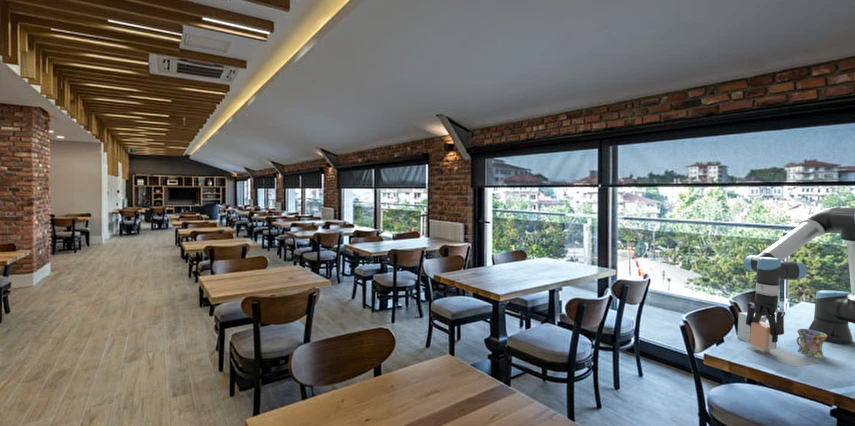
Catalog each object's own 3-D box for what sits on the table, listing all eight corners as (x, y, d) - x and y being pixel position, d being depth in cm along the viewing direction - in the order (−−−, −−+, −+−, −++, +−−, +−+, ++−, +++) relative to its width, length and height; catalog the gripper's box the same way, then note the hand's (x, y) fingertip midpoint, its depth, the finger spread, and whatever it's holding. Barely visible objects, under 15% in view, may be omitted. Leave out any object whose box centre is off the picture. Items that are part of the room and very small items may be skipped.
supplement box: (764, 343, 183) (766, 317, 182) (748, 343, 183) (750, 317, 182) (752, 337, 190) (753, 312, 189) (736, 337, 190) (738, 311, 189)
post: (761, 349, 173) (762, 331, 172) (769, 352, 169) (771, 334, 169) (755, 349, 172) (756, 332, 171) (763, 353, 169) (765, 334, 168)
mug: (806, 351, 174) (808, 328, 173) (831, 360, 165) (833, 336, 164) (784, 353, 172) (786, 329, 171) (808, 362, 163) (810, 337, 162)
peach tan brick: (760, 342, 174) (762, 321, 174) (776, 348, 168) (777, 326, 168) (749, 344, 173) (751, 322, 172) (765, 349, 167) (766, 327, 166)
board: (769, 348, 178) (769, 344, 178) (820, 366, 159) (820, 363, 159) (745, 351, 174) (745, 347, 174) (794, 370, 156) (795, 366, 156)
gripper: (737, 288, 177) (734, 338, 179) (785, 300, 159) (781, 355, 160) (750, 287, 179) (746, 336, 181) (799, 299, 160) (794, 354, 162)
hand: (762, 345), depth 170 cm, fingers closed on peach tan brick, 6 cm apart
